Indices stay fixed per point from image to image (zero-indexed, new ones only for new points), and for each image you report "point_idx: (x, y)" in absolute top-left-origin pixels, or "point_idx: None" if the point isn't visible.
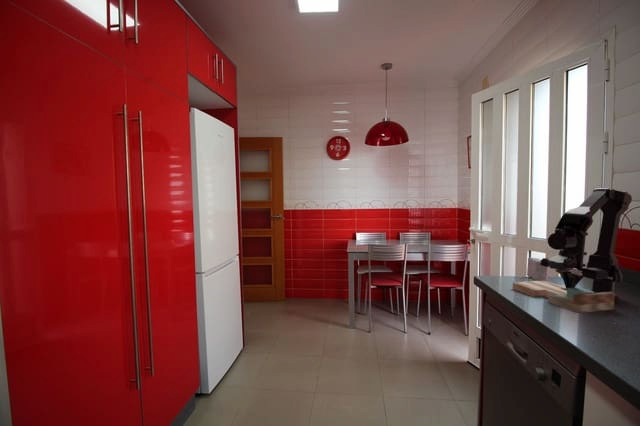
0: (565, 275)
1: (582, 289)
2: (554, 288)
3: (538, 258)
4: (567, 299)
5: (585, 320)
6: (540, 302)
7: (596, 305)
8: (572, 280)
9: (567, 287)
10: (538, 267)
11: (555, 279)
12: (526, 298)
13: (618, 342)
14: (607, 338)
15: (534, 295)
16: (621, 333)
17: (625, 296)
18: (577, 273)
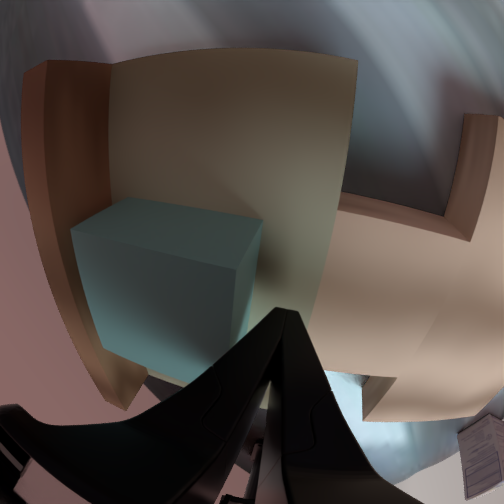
0: (283, 491)
1: (158, 350)
2: (423, 352)
3: (485, 494)
4: (189, 114)
5: (68, 34)
6: (357, 8)
7: None
8: (168, 405)
9: (286, 334)
10: (492, 464)
11: (430, 458)
12: (452, 16)
13: (4, 21)
14: (15, 8)
15: (473, 114)
16: (6, 79)
17: (248, 463)
18: (28, 478)
